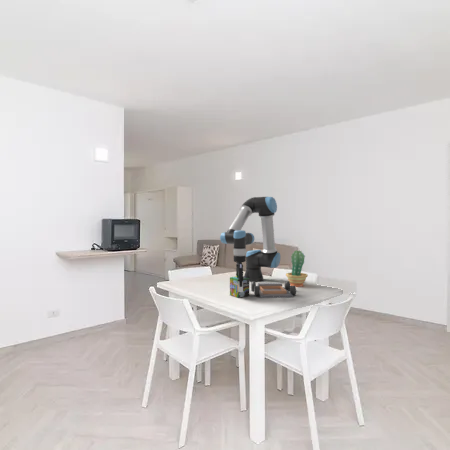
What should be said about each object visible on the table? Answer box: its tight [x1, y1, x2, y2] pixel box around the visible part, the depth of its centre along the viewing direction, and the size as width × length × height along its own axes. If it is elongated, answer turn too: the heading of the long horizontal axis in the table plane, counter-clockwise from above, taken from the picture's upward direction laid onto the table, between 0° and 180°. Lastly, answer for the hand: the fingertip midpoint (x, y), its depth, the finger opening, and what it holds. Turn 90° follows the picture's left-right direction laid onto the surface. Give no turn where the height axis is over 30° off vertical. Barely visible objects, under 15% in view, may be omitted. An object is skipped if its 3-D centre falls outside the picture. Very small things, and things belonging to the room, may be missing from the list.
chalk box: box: [229, 274, 250, 299], centre depth 198 cm, size 9×9×15 cm
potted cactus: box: [285, 249, 309, 288], centre depth 229 cm, size 15×15×25 cm
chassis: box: [250, 280, 297, 299], centre depth 206 cm, size 24×25×6 cm
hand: (239, 289), depth 198 cm, fingers open, 13 cm apart
